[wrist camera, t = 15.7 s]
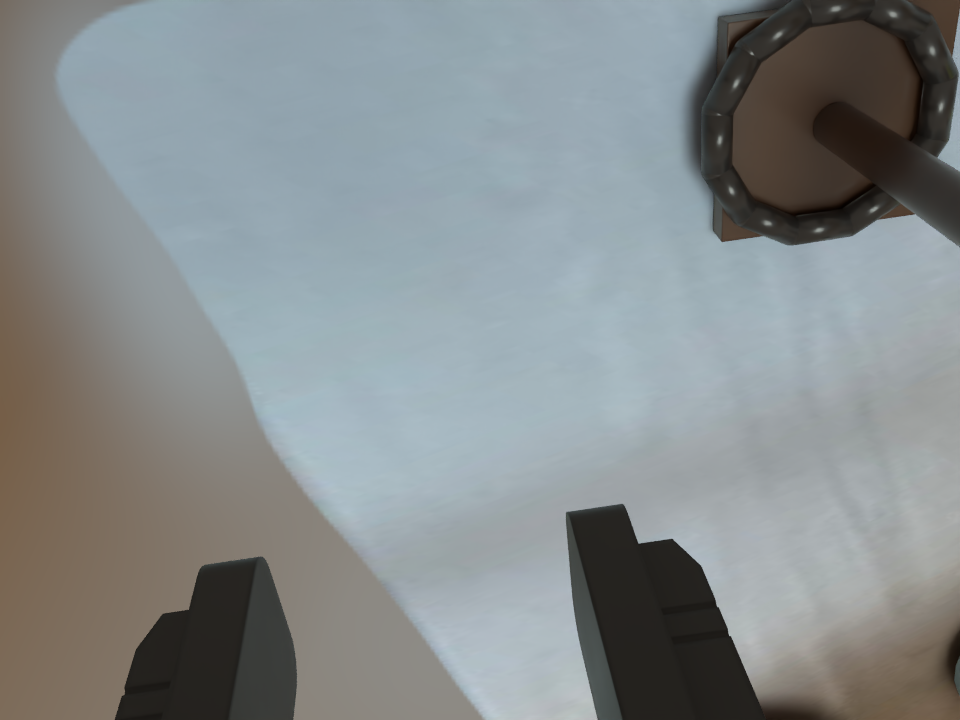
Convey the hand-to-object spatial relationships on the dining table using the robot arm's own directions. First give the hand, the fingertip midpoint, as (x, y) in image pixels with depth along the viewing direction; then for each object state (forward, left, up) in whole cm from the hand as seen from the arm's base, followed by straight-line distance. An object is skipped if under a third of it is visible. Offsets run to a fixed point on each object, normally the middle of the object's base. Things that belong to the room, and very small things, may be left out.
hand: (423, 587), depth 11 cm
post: (+17, -4, -27) cm, 32 cm away
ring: (+16, -4, -25) cm, 30 cm away
